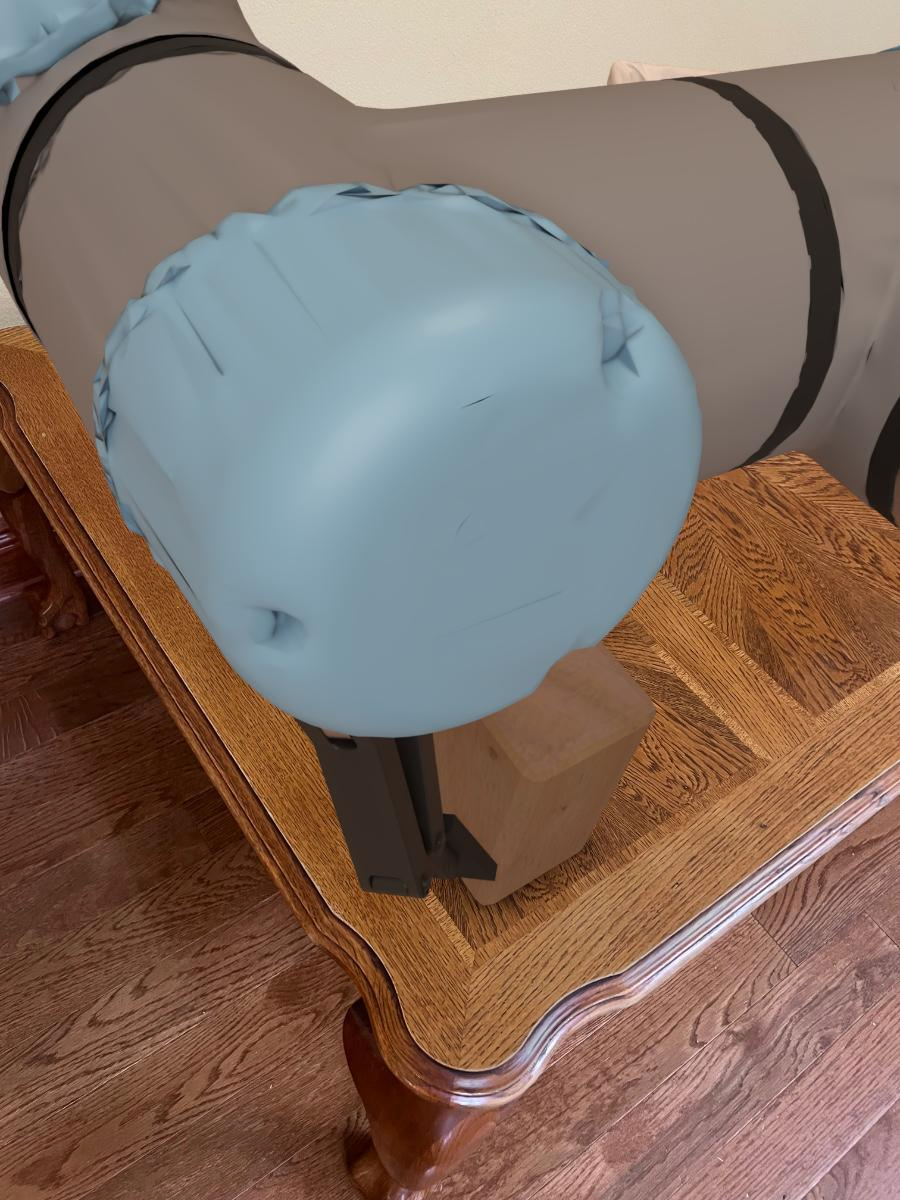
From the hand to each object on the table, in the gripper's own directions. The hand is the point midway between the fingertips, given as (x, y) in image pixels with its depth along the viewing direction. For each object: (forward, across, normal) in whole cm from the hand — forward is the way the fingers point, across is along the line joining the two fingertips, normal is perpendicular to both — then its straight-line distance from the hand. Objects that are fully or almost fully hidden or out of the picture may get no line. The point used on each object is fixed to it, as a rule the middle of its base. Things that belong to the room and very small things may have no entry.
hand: (493, 733), depth 46 cm
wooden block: (+27, -4, -8) cm, 28 cm away
